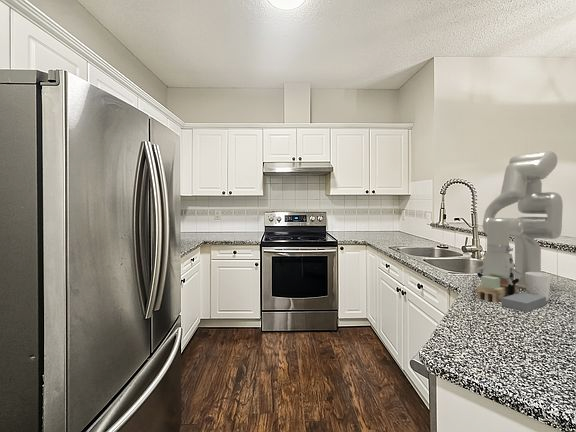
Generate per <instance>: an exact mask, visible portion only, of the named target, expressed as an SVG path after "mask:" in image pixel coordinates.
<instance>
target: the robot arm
mask: <svg viewBox="0 0 576 432" xmlns="http://www.w3.org/2000/svg"><path fill="white" fill-rule="evenodd" d="M508 162H509V163H508V165H507V166H506V168H505V171H504V176H503V177H504V178H503V181H502V186H501V191H500V194H499V196H498V195H497V197H496V198H494V200H492V202H491V203H490V204H489V205H488V206H487V207H486V209H485V212H484V215H483V221H482V230H483V232H484V233H485V234H486V251H485V253H484V257H483V263H482V265H481V266H480V265H479V267H476V268H475V267H474V270H475V273H476V275H477V276H478V277H479V279H480V280H481V277H482V276H493V277H499V278H500V279H506V280H507V281H508V283H509V285H508V295H513V294H514V293H515V284H519V289H520V288H521V289H526V281H525V273H526V272H539V273H542V271H541V269H542V267H541V266H542V265H541V264H542V259H541V258H542V249H541V246H540V244H539V243H538V242H537V241H536V239H541V240H543V239H545V240H546V239H547V240H555V239H558V238H560V236H561V234H562V227H563V207H564V206H563V205H564V204H563V198H562V196H561V195H560V194H559V193H558V192H551V191H550V192H549V191H548V192H545V191H544V192H543V190H542V187H543V186H542V185H543V183H542V180H544V179H546V178H547V177H548V176H549V175H550V174H551V173H552V172H554V170H555V168H556V167H557V164H558V156H557V154H556V153H555V152H554V151H551V150H546V151H538V152H530V153H522V154H518V155H514V156H512V157H510V159H509V161H508ZM516 203H517V209H518V211H519V212H520V213H521V214H528V215H529V214H530V215H546V216H520V217H517V218H513V217H496V215H498V213H499V212H500V211H501V210H502V209H504V208H506V207H508V206H511V205H514V204H516ZM510 237H513V238H514V248H513V247H511V246H510ZM513 250H514V258H513V253H511V252H513ZM514 274H515V275H514ZM513 278H514V279H513Z"/></svg>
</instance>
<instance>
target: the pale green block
mask: <svg viewBox="0 0 576 432" xmlns="http://www.w3.org/2000/svg"><path fill="white" fill-rule="evenodd" d="M480 282H481V284H480V286H481V287H485V288H491V289H498V288H500V278H499V277H493V276H482V277H481V279H480Z"/></svg>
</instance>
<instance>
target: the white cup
mask: <svg viewBox="0 0 576 432" xmlns="http://www.w3.org/2000/svg"><path fill="white" fill-rule="evenodd" d="M525 281H526V288H525V291H526V292H525V293H528V294H533V295H539V296H544V297H546V302H548V301H549V300H550V299H549V298H550V297H549V296H550V289H551V288H550V287H551V274H549V273H546V272H541V273H539V272H526V273H525Z"/></svg>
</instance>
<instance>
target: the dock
mask: <svg viewBox="0 0 576 432" xmlns="http://www.w3.org/2000/svg"><path fill="white" fill-rule="evenodd" d="M544 306H547V301H546V297H544V296H539V295H533V294H528V293H527V292H524V291H523V292H522V291H521V292H519V293H517V294H514V295H510V296H507V297H504V298H502V301H501V307H503V308H508V309H511V310H517V311H521V312H525V313H528V312H531V311H533V310H536V309H539V308H542V307H544Z"/></svg>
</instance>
